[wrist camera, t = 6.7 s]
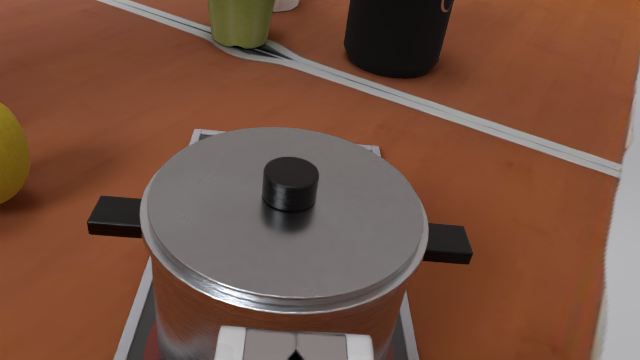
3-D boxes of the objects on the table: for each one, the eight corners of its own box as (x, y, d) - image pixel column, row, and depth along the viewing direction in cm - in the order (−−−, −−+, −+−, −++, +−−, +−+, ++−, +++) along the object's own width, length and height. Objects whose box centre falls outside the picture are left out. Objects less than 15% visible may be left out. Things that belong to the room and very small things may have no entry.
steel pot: (448, 470, 23) (535, 296, 17) (71, 452, 22) (17, 257, 16) (409, 276, 33) (456, 118, 27) (143, 255, 32) (127, 85, 26)
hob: (445, 517, 22) (448, 511, 22) (67, 501, 21) (64, 494, 21) (377, 151, 45) (379, 146, 45) (194, 134, 44) (194, 128, 44)
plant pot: (298, 44, 62) (306, -35, 57) (236, 63, 56) (239, -24, 51) (243, 19, 67) (246, -56, 62) (179, 34, 61) (177, -48, 56)
